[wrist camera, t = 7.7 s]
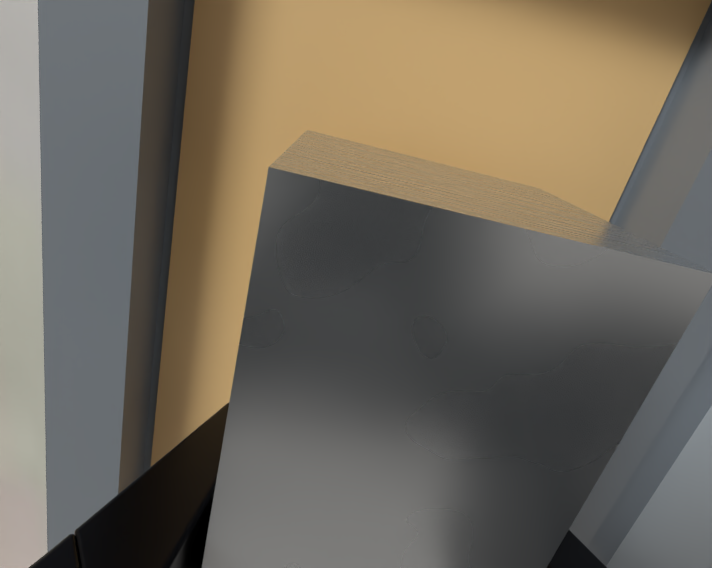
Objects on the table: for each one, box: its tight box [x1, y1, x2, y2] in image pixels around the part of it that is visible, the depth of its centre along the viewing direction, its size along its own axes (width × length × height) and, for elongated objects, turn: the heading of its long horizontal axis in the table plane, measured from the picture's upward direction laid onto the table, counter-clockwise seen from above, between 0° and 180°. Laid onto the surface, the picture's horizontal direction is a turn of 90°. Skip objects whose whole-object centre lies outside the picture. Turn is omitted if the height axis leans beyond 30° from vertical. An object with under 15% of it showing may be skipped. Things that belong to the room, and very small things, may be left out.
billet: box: [202, 130, 712, 568], centre depth 7 cm, size 4×10×4 cm, turn 166°
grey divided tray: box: [38, 0, 712, 568], centre depth 10 cm, size 23×21×5 cm
